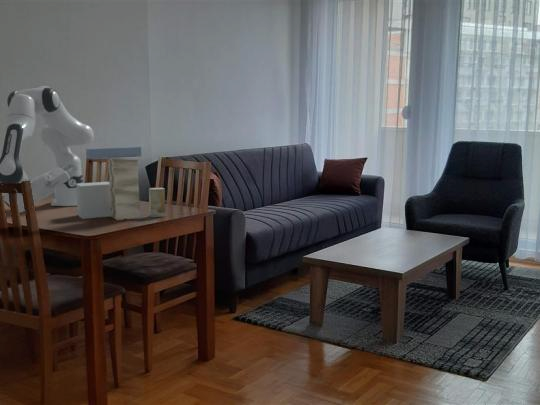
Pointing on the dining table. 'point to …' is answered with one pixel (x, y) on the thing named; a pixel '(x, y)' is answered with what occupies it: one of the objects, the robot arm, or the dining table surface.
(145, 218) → the dining table surface
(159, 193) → the skincare box
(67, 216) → the dining table surface
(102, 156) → the bar
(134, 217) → the pedestal
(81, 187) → the low block
